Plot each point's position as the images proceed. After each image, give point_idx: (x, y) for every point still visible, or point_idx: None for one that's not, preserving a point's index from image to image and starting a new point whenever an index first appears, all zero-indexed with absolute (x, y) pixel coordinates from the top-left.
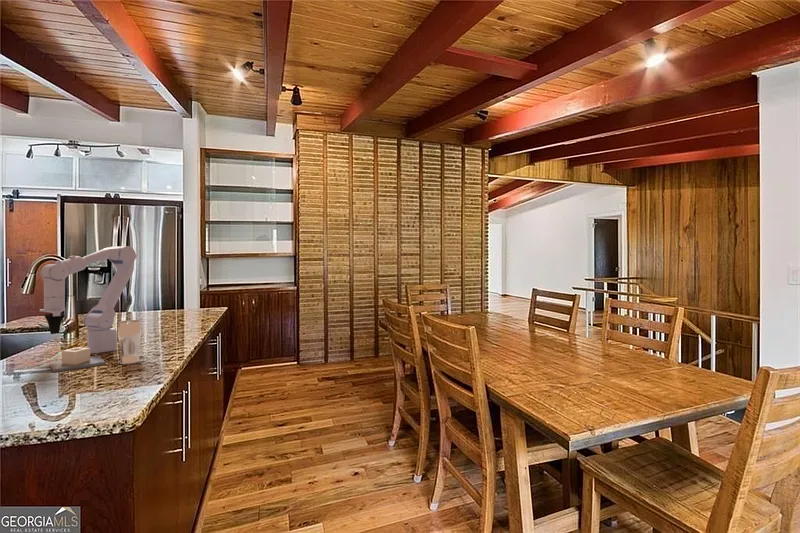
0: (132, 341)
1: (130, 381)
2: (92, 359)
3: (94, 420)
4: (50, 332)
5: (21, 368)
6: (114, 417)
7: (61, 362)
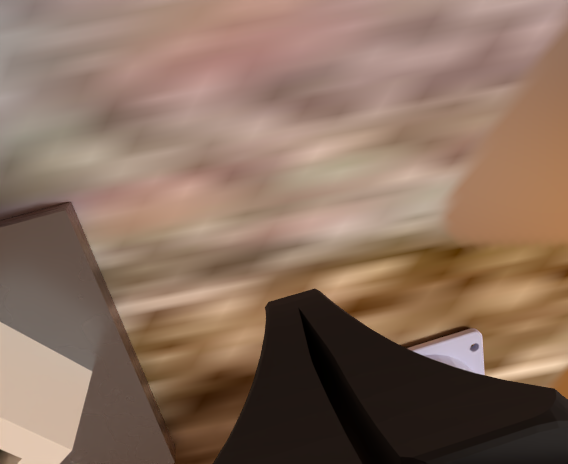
0: None
1: None
2: None
3: None
4: (284, 304)
5: (26, 3)
6: None
7: (20, 295)
